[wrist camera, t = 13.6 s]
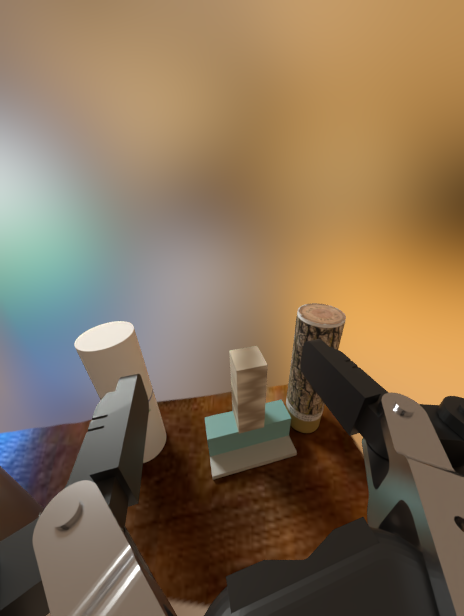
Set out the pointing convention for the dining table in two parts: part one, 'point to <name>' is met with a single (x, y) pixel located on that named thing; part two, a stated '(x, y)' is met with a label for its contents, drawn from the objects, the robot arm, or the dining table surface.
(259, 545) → the dining table surface
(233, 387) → the ash post
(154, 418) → the cylindrical container
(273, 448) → the stand
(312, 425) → the bark log cylinder
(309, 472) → the dining table surface
